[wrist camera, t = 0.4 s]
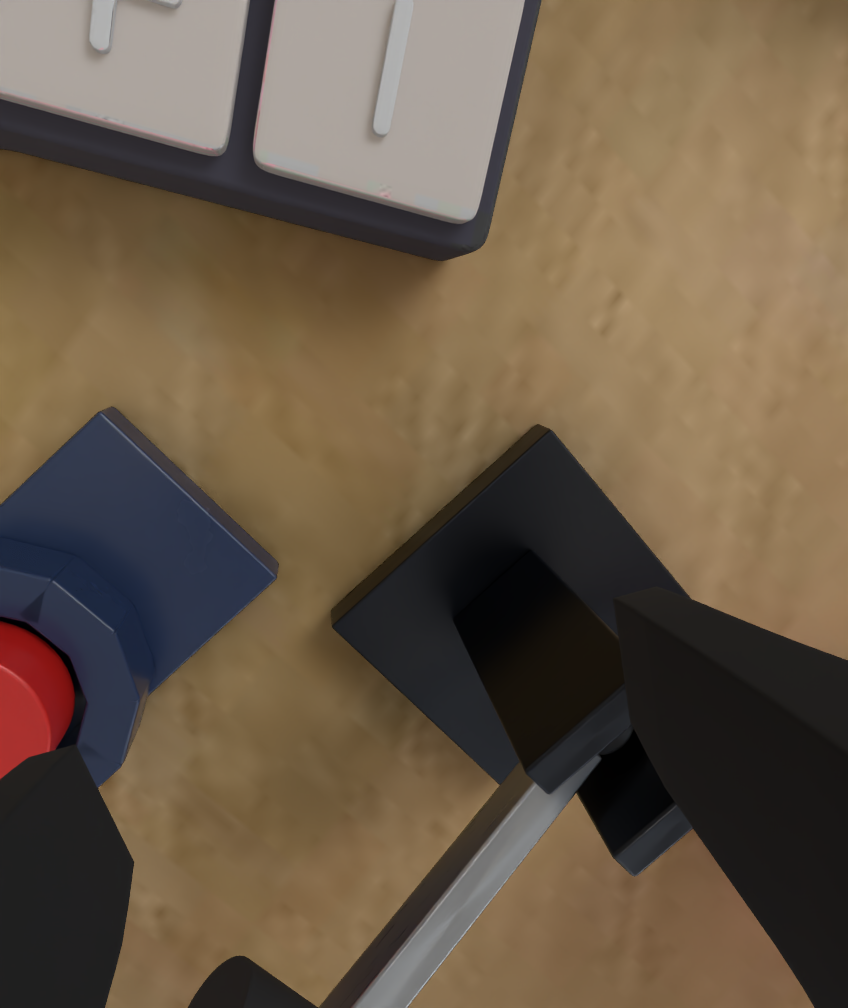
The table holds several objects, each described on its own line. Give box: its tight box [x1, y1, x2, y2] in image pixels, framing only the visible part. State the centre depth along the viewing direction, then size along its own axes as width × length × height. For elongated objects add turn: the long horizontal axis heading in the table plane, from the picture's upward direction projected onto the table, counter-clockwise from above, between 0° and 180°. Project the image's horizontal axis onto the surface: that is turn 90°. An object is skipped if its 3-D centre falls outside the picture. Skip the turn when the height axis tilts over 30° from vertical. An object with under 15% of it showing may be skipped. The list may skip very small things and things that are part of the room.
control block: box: [0, 407, 279, 788], centre depth 18 cm, size 10×7×3 cm
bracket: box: [331, 424, 693, 877], centre depth 17 cm, size 8×8×8 cm
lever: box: [188, 725, 633, 1008], centre depth 14 cm, size 11×5×2 cm, turn 131°
